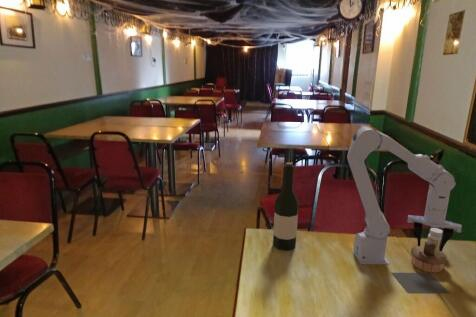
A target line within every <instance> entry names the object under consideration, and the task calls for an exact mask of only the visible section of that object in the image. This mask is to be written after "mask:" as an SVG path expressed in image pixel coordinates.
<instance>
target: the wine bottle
mask: <svg viewBox="0 0 476 317" xmlns="http://www.w3.org/2000/svg"><path fill="white" fill-rule="evenodd" d="M284 163H285V164H284V166H283V178H282V189H281V191H280V192H279V194H278V195H277V197H276V198H275V200H274V213H273V214H274V217H273V218H274V219H273V232H272V233H273V236H272V247H274V248H276V249H277V250H279V251H286V252H287V251H292V250H295V249H296V245H297V233H298V231H297V230H298V217H299V204H300V203H299V201H300V200H299V198H298V197H297V195H296V193H295V191H294V190H293V188H294V185H293V184H294V171H295V165H293V164H294V163H292V162H284Z"/></svg>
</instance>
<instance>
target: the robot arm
mask: <svg viewBox="0 0 476 317" xmlns="http://www.w3.org/2000/svg"><path fill="white" fill-rule="evenodd" d="M376 149H377V150H379V151H388V152H390V153H391V154H393V155H395V156H396V157H398V158H400V159H401V160H402V161H404V162H405V163H407V168H408V170H410V171H411V172H412V173H413V174H414V173H415V174H416V175H417V176H419V177H420V178H421V179H423V180H424V181H426V182H428V183H429V185H428V186H429V187H428V192H427V196H426V197H427V199H426V203H425V208H424V215H423V216H421V215H412V214H408V216H407V223H410V224H411V223H413V230H414V231H415V232H414V233H415V236H416V240H417V246H419V247H420V246H421V241H422V239H421V238H422V233H423V225H424V226H428V227H430V228H438V229H442V230H443V231H442V238H441V242H440V246H439V251H442V252H443V250H444V247H445V246H446V244H447V242H448V241H449V240H450V239H451V238H452V237H453V236H454V232H456V233H462V224H460V223H456V222H452V221H450V220H449V221H448V220H446V217H447V212H448V206H449V202H450V195H451V194H450V193H451V191H452V190H453V189H454V188H455V186H456V183H457V182H456V180H455V177H454V175H452V173H450V172H449V171H447V170H446V169H445V168H444V166H443V165H441V164H437V163H435V162H434V161H433V160H431V157H430V156H428V155H427V154H425V155H424V154H421V153H418V154H417V153H416V154H414V153H412V152H411V151H410V150H408V149H407V148H406V147H404V146H403V145H401V144H400V143H398V142H397V141H396V140H395V139H393V138H392V137H390V136H389V135H387V134H385V133H383V132H381V131H380V130H377V129H376V130H375V129H374V128H373V127H372V126H370V125H363V126H360V127H359V128H357V129H356V130H355V132H354V134H353V135H352V137H351V141H350V145H349V148H348V151H347V156H346V159H347V162H348V164H349V168H350V171H351V174H352V178H353V180H354V182H355V185H356V188H357V191H358V194H359V197H360V200H361V203H362V206H363V209H364V212H365V215H364V216H365V217H364V222H365V223H366V227H365V228H364V230H363V231H362V232H358V233H356V234H355V236H354V243H353V250H352V253H353V255H354V256H355V258H356V259H357V261H358V263H359V264H361V265H390V262H389V261H388V259H387V258H386V257H385V256H386V250H387V243H388V236H389V234H390V232H391V226H390V225H389V223H388V222H387V219H386V216H385V214H384V213H383V211H381V208H380V206H379V202H378V199H377V196H376V193H375V190H374V187H373V184H372V181H371V179H370V176H369V173H368V169H367V166H366V164H365V160H366V159H367V157H368V156H369V155H370V154H371V153H372V152H373V151H375V150H376Z"/></svg>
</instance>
